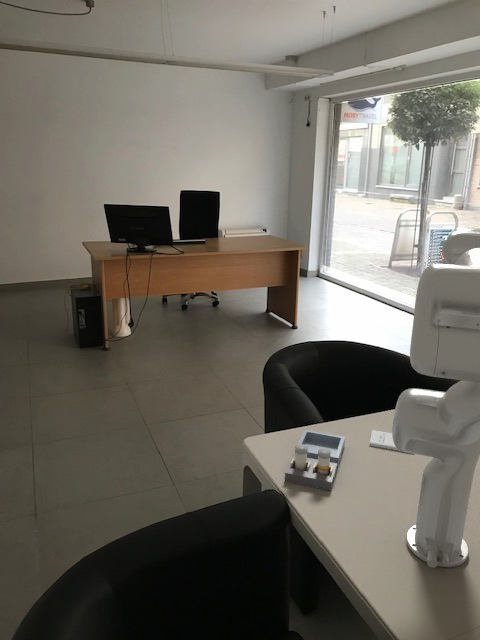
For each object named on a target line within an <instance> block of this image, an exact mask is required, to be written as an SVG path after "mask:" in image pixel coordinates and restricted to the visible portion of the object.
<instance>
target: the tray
mask: <svg viewBox="0 0 480 640" xmlns="http://www.w3.org/2000/svg"><path fill="white" fill-rule="evenodd" d="M298 444H303V445H306V446H307V447H308V451H307V458H312V459H317V460H318V450H319V449H323V448H324V449H328V450H330V452H331V455H330V462H332V463H337V469H338V467H339V465H340V462H341V459H342V456H343V452H344V449H345V444H346V436H342V435H336V434H332V433H326V432H320V431H314V430H308V429H304V430H303V432H302V434H301V436H300V438H299V441H298V442H297V445H298Z"/></svg>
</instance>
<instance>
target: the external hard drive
mask: <svg viewBox="0 0 480 640" xmlns="http://www.w3.org/2000/svg"><path fill="white" fill-rule="evenodd" d="M369 445H370V446H369V447H375V448H381V449H386V448H387V450H391V449H393V451H397V450H399V449H397V447H396V446H395V444H394V442H393V437H392V432H387V431H380V430H379V431H378V430H374V429H372V430H371V434H370V440H369Z"/></svg>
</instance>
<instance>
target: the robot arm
mask: <svg viewBox="0 0 480 640" xmlns="http://www.w3.org/2000/svg"><path fill="white" fill-rule="evenodd" d="M441 247H442V248H441V256H442V258H443V260H444V262H445V263H434V264H430V265H427V267H425V268H424V270H423V272H422V273H421V275H420V278H419V281H418V284H417V288H416V296H415V303H414V311H413V322H412V323H413V324H412V330H411V339H410V347H409V361H410V364H411V367H412V369H413V370H415V371H416V372H417V373H418V374H420V375H424V376H428V377H433V378H443V379H450V380H456V381H457V380H458V382H455V383H454V384H453V385H452V386H450V387H448V389H447V390H446V391H439V390H433V389H425V388H424V389H423V388H415V387H413V388H408V389H404V391H402V392H401V393H400V395H399V396H398V399H397V401H396V405H395V409H394V415H393V420H392V421H393V422H392V425H391V426H392V428H391V429H392V430H391V433H392V437H393V442H394V444H395V446H396V447H397V449H399V450H400V451H399V452H402V451H403V453H407V454H413V455H418V456H424V457H431V458H432V459H431V460H430V461H428V463H427V464H426V466H425V467H424V469H423V472H422V478H421V485H420V491H419V500H418V508H417V513H416V523H415V524H414V525H413V526H411V527H410V528H409V529H408V530H407V533H406V538H405V539H406V544H407V547H408V548H409V550H410V551H411V552H412V553H413V555H414V556H416V557H417V558H418V559H420V560H422V561H424V562H425V563H426V564H427V566H428V567H430V568H432V569H434V568H436V567H442V568H454V567H458V566H461V565H462V564H464V563H465V562H466V561H467V559H468V555H469V546H468V543H467V542H466V540H465V539H464V538H463V537H464V532H465V526H466V519H467V513H468V508H469V502H470V496H471V491H472V487H473V486H472V485H473V479H474V475H475V470H476V467H477V464H478V461H479V459H480V228H478V227H470V226H468V227H467V226H462V227H461V226H459V227H456V228H454V229H453V230H452V232H450V233H449V234H448V235H447V237H446V238H444V241H443V243H442V246H441Z"/></svg>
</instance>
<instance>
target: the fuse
mask: <svg viewBox="0 0 480 640" xmlns="http://www.w3.org/2000/svg"><path fill="white" fill-rule="evenodd" d="M294 448H295V449H294V455H295V469H297V470H302V471H306V461H307V451H308V447H307V446H306V445H303V444H298V443H297V444H296V445H295V447H294Z"/></svg>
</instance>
